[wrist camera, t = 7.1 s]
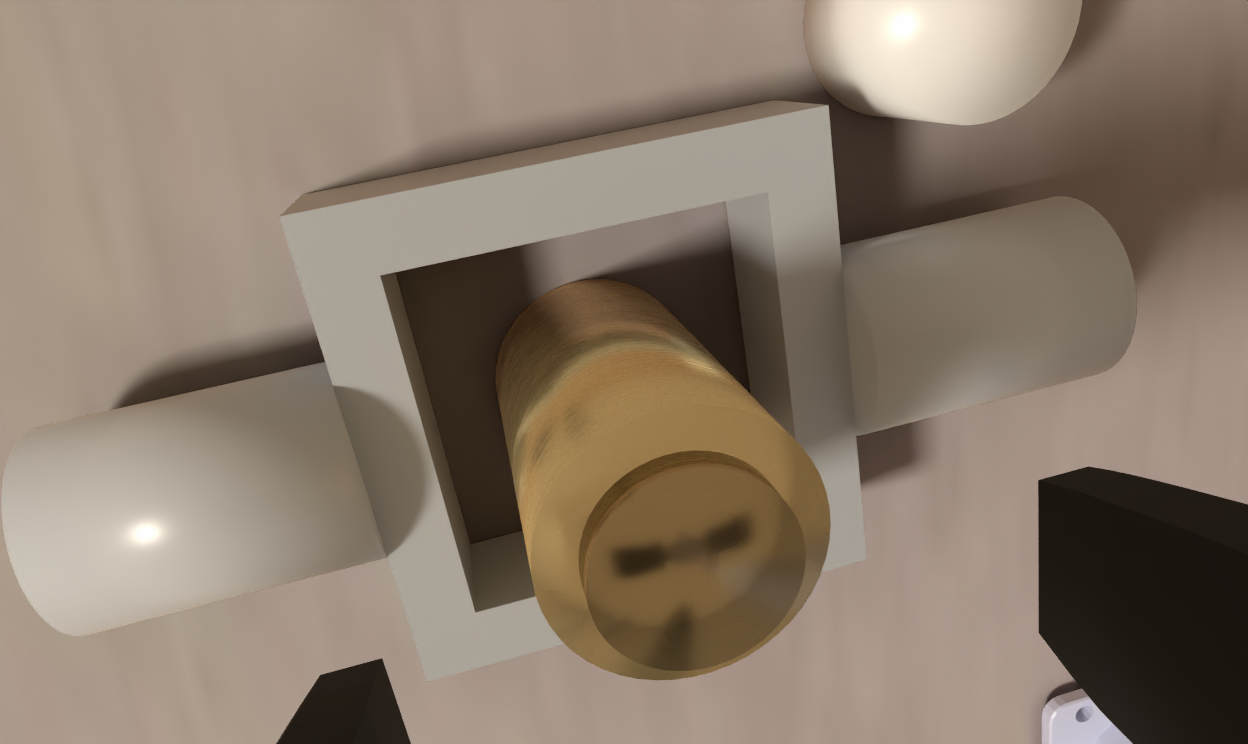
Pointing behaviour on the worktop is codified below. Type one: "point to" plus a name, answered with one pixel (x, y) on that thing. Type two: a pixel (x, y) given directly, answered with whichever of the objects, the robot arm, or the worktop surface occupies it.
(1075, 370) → the fitting socket
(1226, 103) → the worktop surface
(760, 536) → the gold metal cylinder
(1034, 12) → the pipe cap
